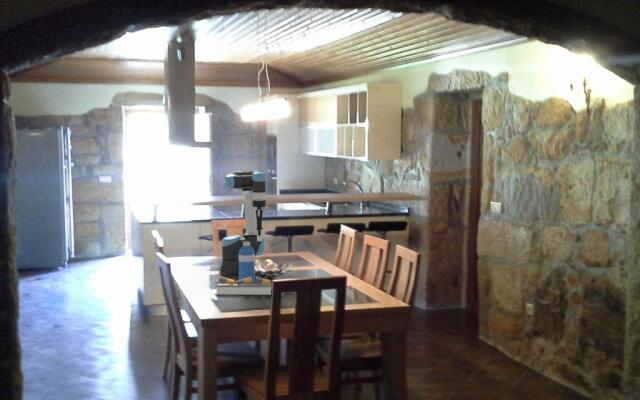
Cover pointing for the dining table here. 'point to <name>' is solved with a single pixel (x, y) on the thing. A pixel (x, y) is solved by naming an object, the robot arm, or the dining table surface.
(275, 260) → the dining table surface
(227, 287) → the power strip
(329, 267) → the dining table surface
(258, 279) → the rocker
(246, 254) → the water bottle
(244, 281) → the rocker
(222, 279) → the rocker
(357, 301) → the dining table surface
